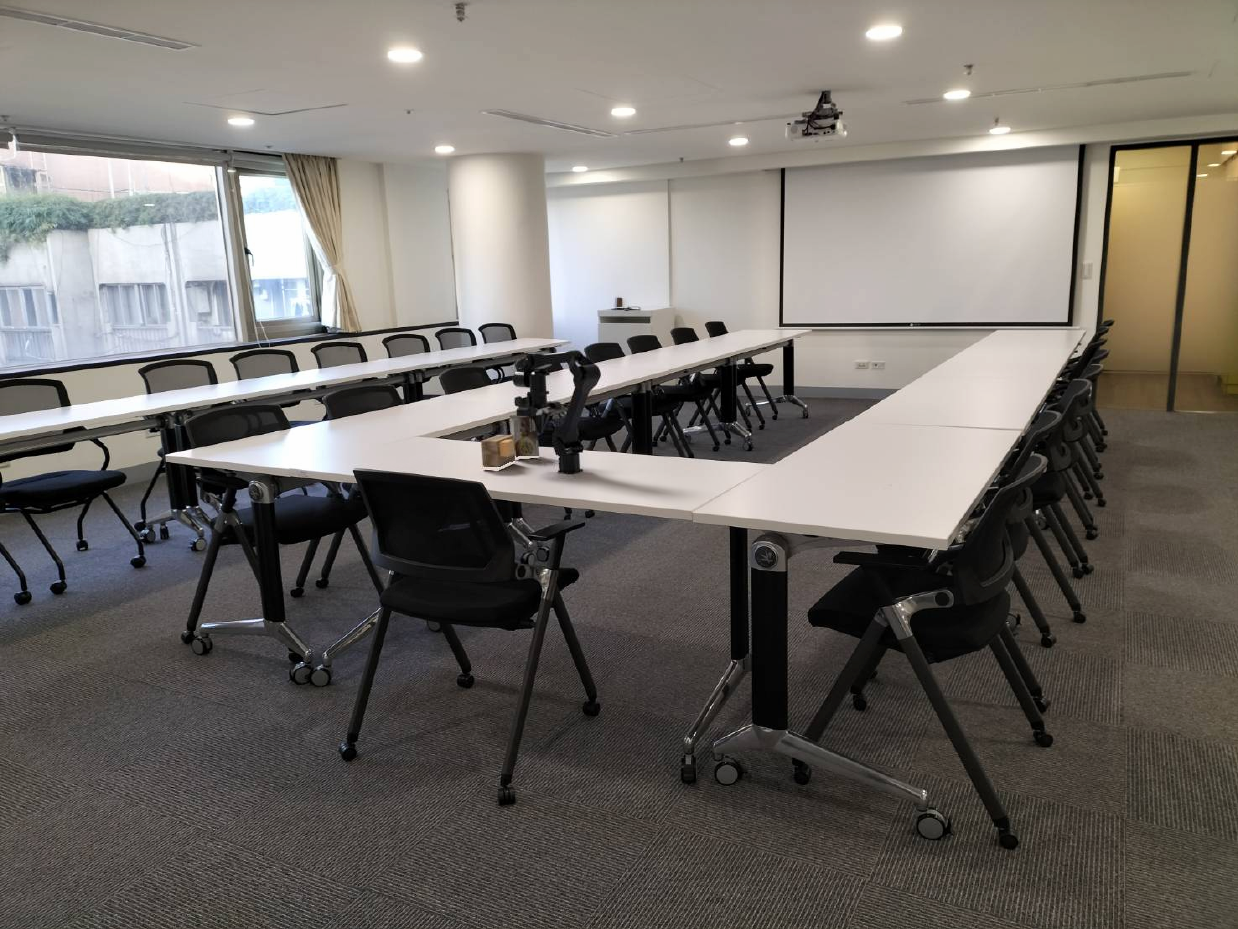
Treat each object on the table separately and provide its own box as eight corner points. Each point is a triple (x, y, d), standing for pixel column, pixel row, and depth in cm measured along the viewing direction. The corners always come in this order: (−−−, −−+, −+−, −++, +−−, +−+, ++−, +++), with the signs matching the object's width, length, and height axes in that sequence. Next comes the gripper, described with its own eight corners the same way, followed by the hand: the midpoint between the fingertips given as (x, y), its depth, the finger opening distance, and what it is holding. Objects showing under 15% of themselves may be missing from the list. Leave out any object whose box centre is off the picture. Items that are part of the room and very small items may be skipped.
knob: (514, 453, 307) (513, 439, 306) (507, 456, 302) (506, 442, 301) (495, 453, 309) (495, 439, 308) (489, 456, 305) (488, 441, 304)
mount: (517, 464, 314) (516, 435, 312) (501, 471, 302) (499, 441, 300) (500, 463, 317) (498, 434, 315) (483, 470, 305) (481, 441, 303)
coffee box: (535, 455, 330) (532, 413, 327) (539, 458, 324) (537, 415, 321) (511, 458, 327) (508, 415, 324) (515, 460, 321) (512, 417, 318)
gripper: (535, 384, 314) (538, 427, 317) (502, 391, 299) (505, 436, 302) (561, 385, 308) (563, 429, 311) (528, 392, 293) (531, 438, 296)
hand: (540, 433), depth 305 cm, fingers closed
